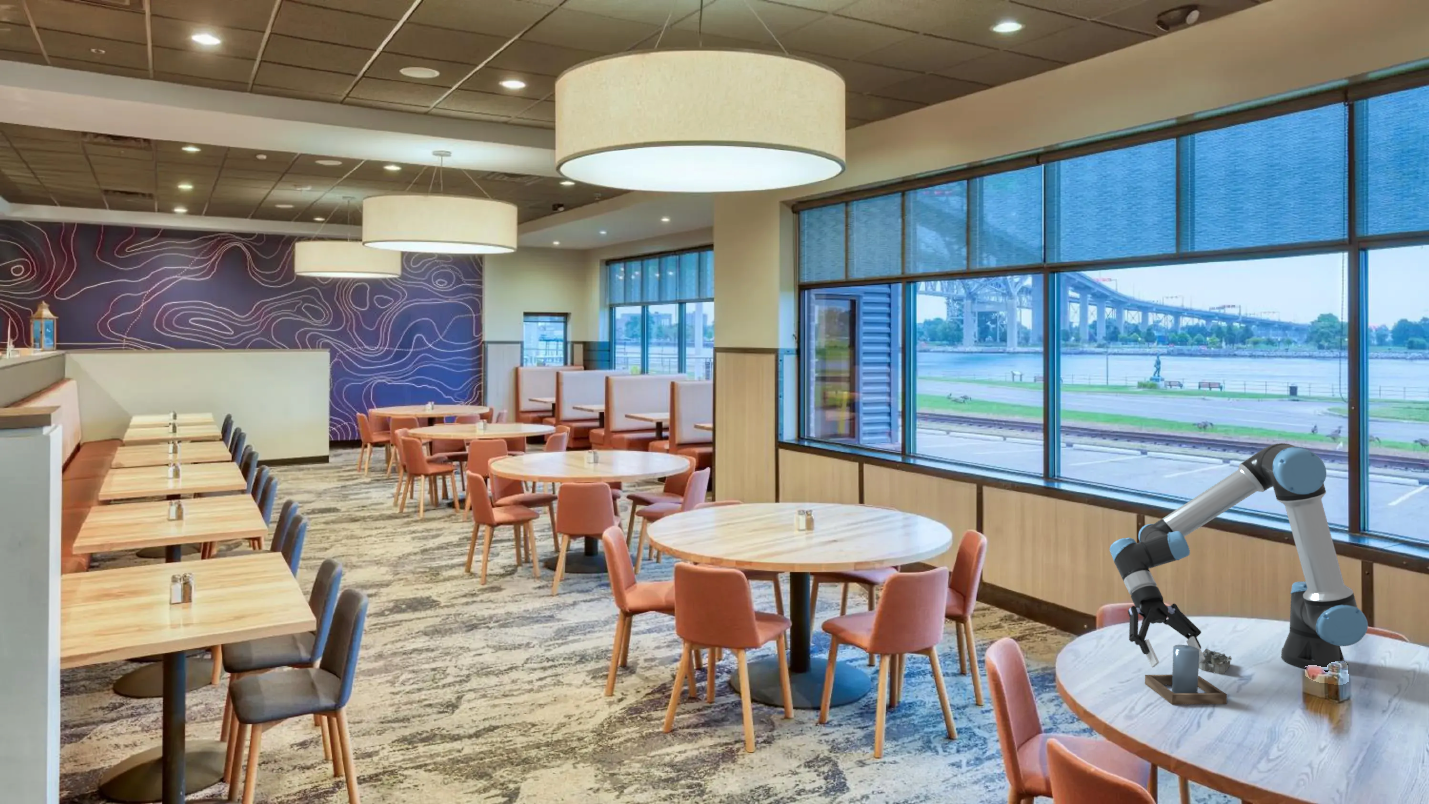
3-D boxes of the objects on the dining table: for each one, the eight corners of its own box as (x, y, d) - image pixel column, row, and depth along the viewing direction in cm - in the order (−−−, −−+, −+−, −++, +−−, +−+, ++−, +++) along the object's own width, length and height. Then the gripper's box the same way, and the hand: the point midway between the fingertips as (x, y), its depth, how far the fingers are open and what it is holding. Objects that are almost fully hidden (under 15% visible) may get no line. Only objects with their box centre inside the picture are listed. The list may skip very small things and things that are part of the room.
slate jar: (1189, 689, 246) (1191, 644, 245) (1202, 697, 240) (1204, 652, 239) (1167, 689, 246) (1168, 644, 245) (1179, 698, 240) (1181, 652, 239)
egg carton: (1222, 676, 256) (1223, 661, 256) (1193, 669, 261) (1193, 655, 261) (1234, 666, 264) (1234, 652, 263) (1205, 659, 269) (1205, 646, 268)
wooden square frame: (1196, 683, 250) (1196, 674, 250) (1226, 703, 236) (1226, 694, 236) (1144, 683, 249) (1145, 674, 249) (1172, 704, 235) (1172, 694, 235)
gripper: (1176, 595, 262) (1212, 666, 249) (1096, 600, 257) (1129, 672, 244) (1190, 582, 257) (1228, 653, 243) (1109, 586, 252) (1143, 659, 238)
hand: (1178, 663), depth 243 cm, fingers open, 13 cm apart
